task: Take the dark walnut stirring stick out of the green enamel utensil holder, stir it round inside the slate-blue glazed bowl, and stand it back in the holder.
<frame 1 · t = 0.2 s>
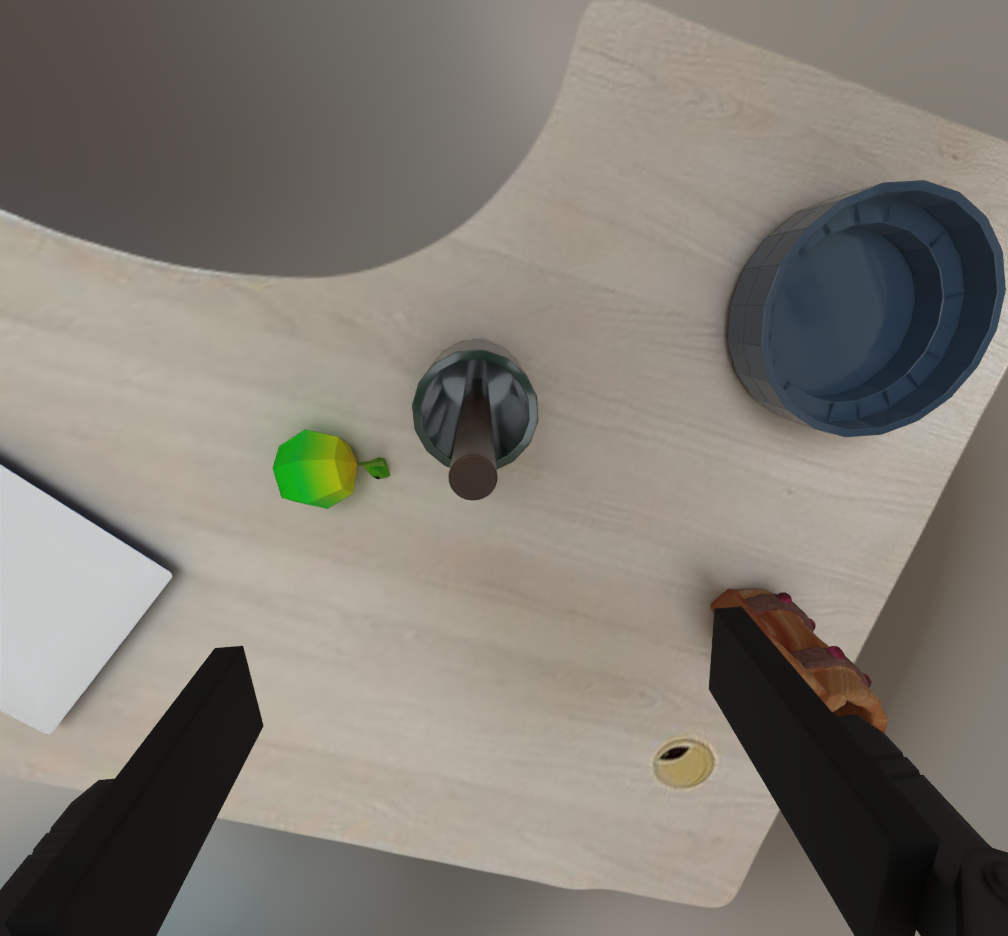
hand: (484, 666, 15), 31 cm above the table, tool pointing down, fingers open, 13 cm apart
mug: (731, 598, 50), on the table
stick: (476, 390, 42), point 1 cm above the table, touching holder
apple: (340, 456, 44), on the table
plate: (7, 577, 46), on the table
holder: (476, 388, 43), on the table
bowl: (828, 315, 42), on the table
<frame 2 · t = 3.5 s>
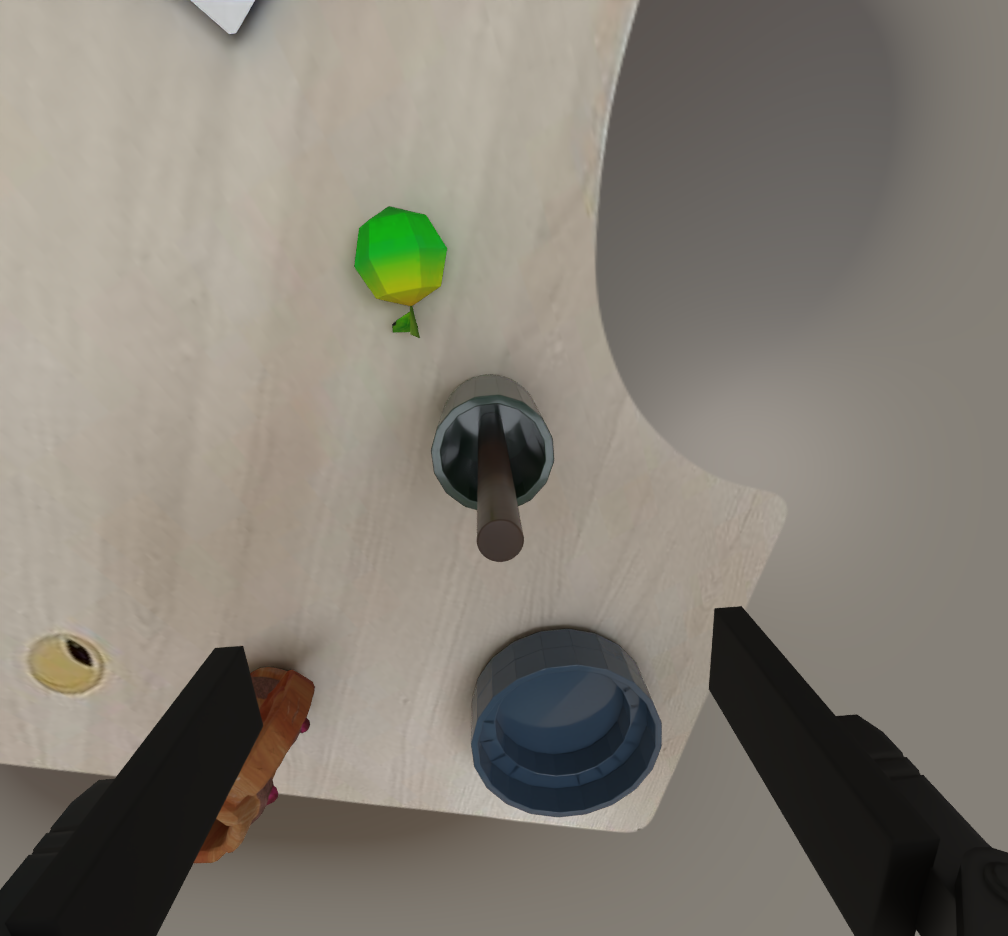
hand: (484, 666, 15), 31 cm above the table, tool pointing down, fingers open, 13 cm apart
mug: (288, 674, 51), on the table
stick: (490, 424, 43), point 1 cm above the table, touching holder
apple: (410, 276, 40), on the table
holder: (490, 422, 44), on the table
bowl: (557, 697, 53), on the table
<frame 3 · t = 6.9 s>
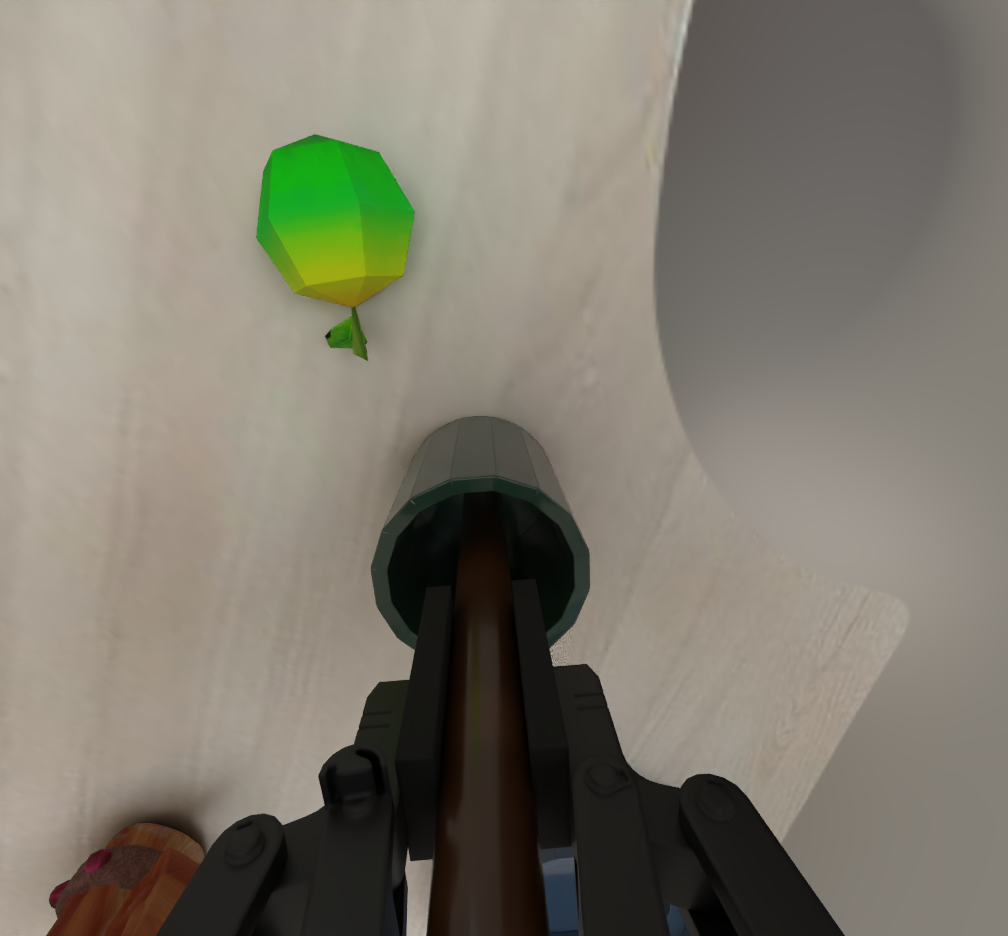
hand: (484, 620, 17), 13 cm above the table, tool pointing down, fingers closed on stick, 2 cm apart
mug: (184, 826, 35), on the table
stick: (482, 493, 28), point 1 cm above the table, touching gripper
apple: (358, 259, 25), on the table
holder: (481, 487, 29), on the table
bowl: (566, 858, 38), on the table
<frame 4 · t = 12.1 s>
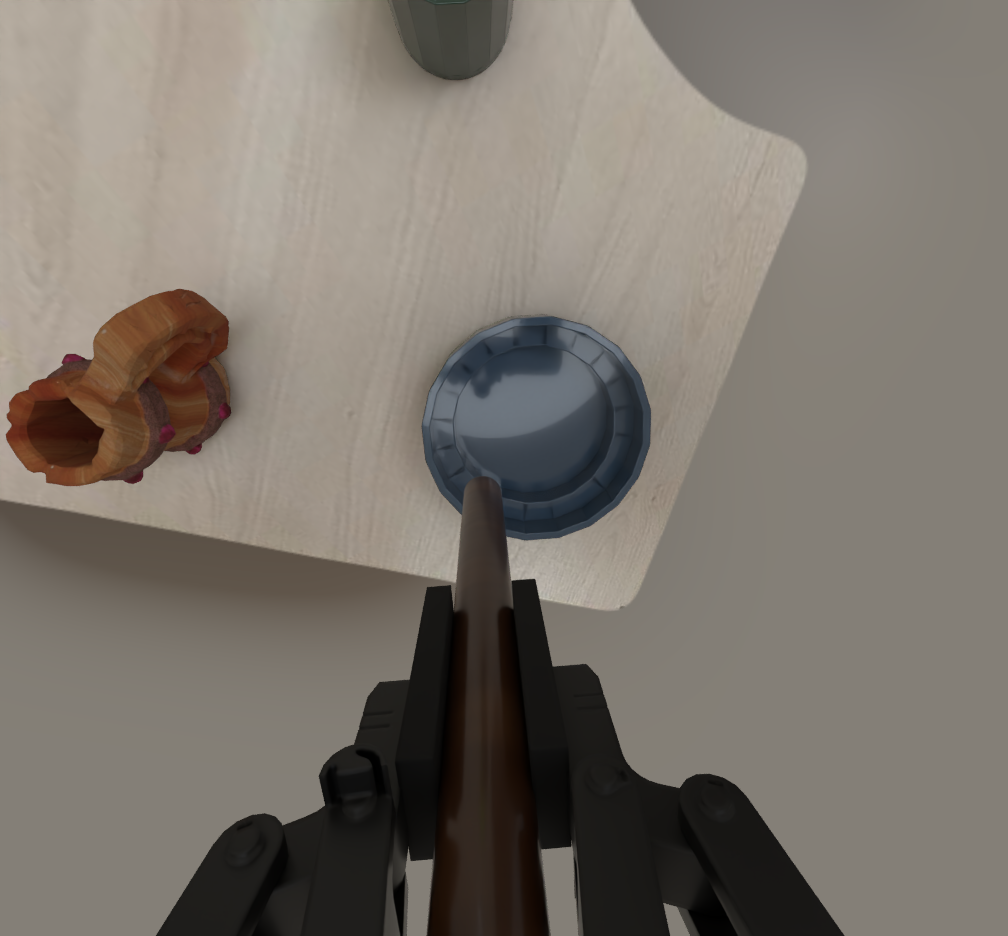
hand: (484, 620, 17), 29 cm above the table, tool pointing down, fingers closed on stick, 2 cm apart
mug: (211, 369, 43), on the table
stick: (482, 493, 28), point 18 cm above the table, touching gripper
holder: (452, 11, 36), on the table
bowl: (530, 418, 45), on the table
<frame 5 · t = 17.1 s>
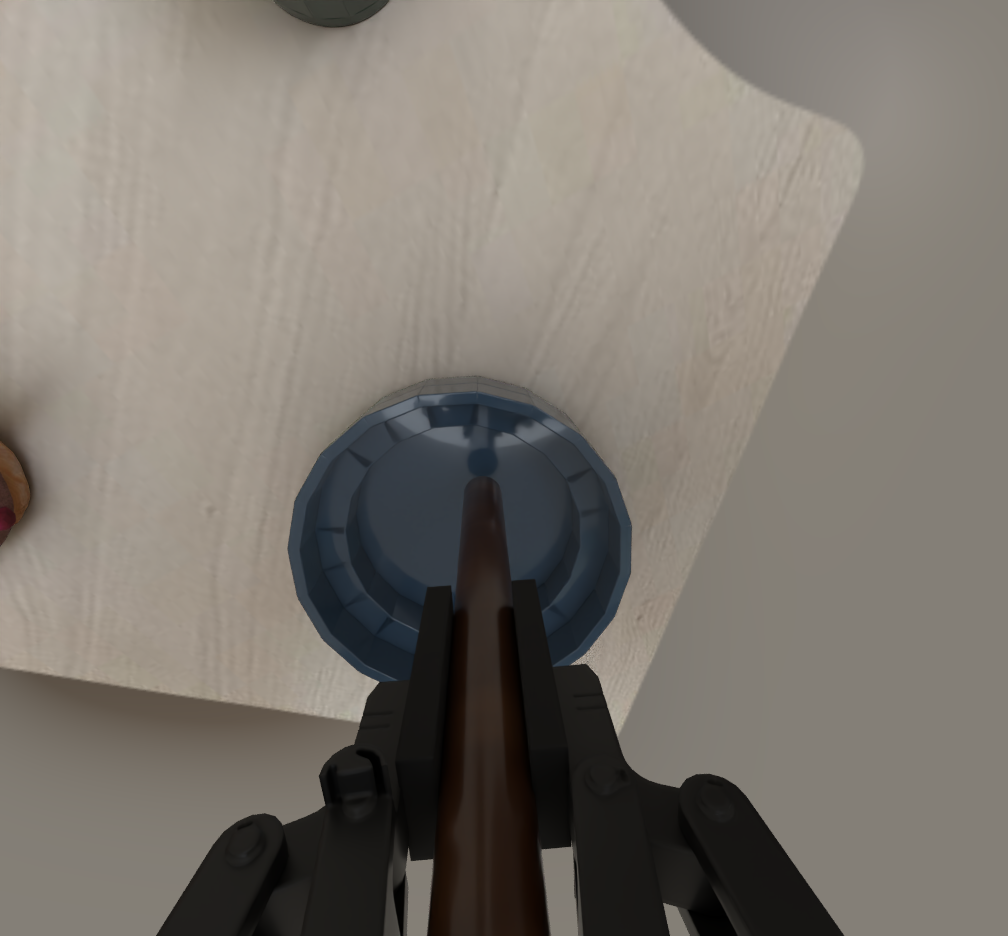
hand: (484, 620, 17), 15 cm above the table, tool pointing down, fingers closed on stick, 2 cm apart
mug: (4, 449, 30), on the table
stick: (482, 493, 28), point 4 cm above the table, touching gripper
bowl: (466, 515, 32), on the table
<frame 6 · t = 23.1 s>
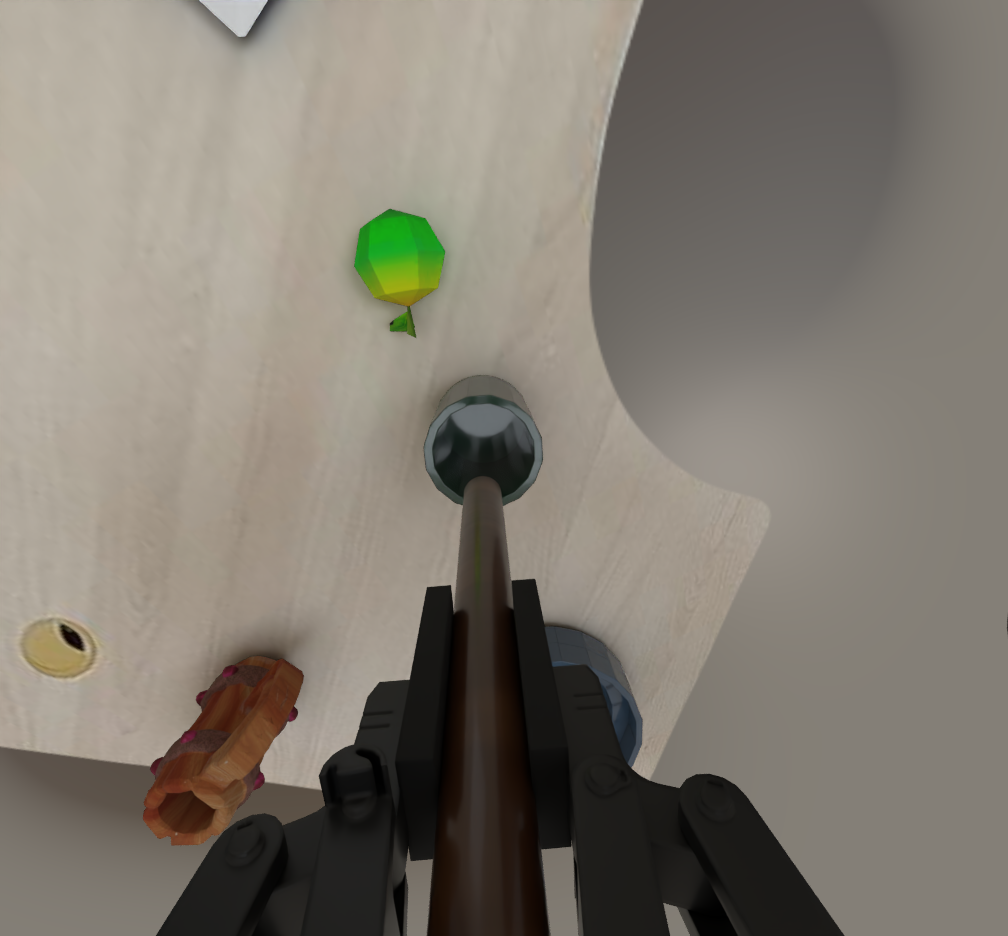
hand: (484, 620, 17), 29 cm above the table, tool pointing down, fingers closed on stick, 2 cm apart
mug: (278, 664, 51), on the table
stick: (482, 493, 28), point 18 cm above the table, touching gripper
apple: (408, 277, 41), on the table
holder: (483, 421, 45), on the table
bowl: (542, 693, 54), on the table
when the fingers open (13 cm above the table, at t = 27.8 s): stick stays where it is, resting on holder.
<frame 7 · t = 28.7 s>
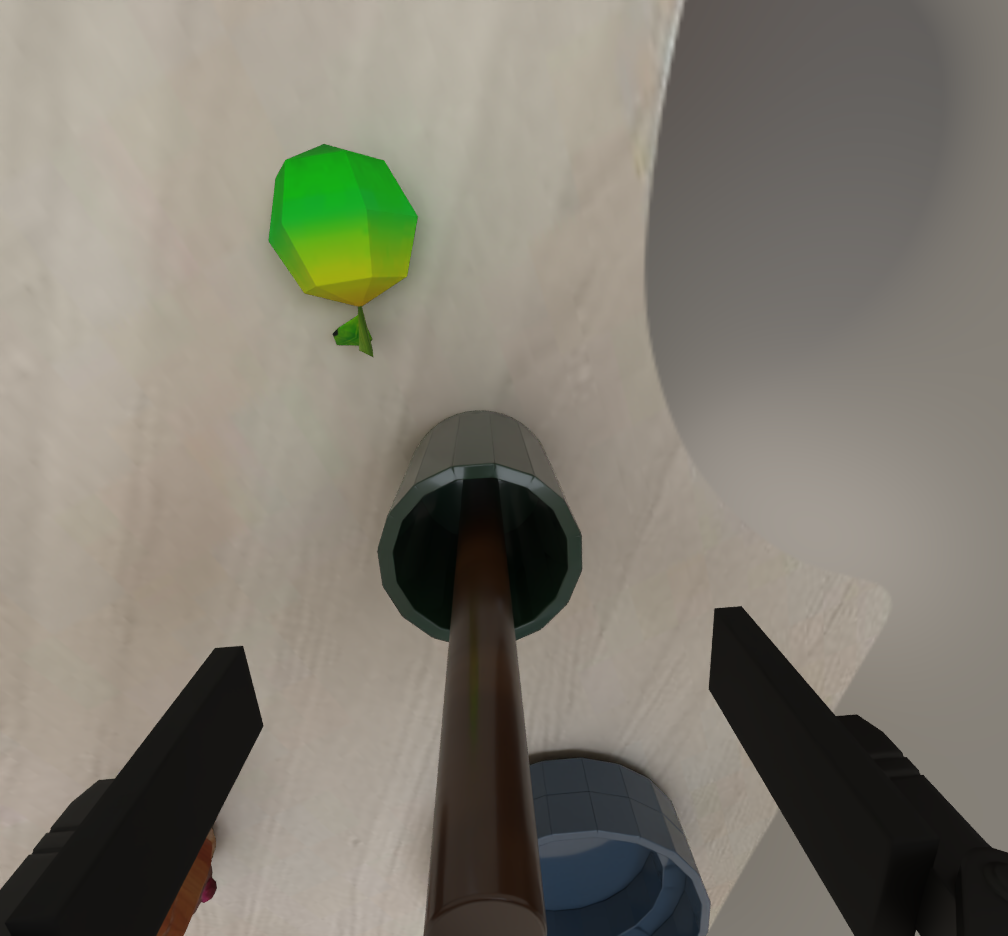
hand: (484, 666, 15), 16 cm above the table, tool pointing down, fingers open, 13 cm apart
mug: (194, 807, 37), on the table
stick: (480, 483, 29), point 1 cm above the table, touching holder
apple: (364, 261, 26), on the table
holder: (480, 478, 30), on the table
bowl: (562, 838, 39), on the table
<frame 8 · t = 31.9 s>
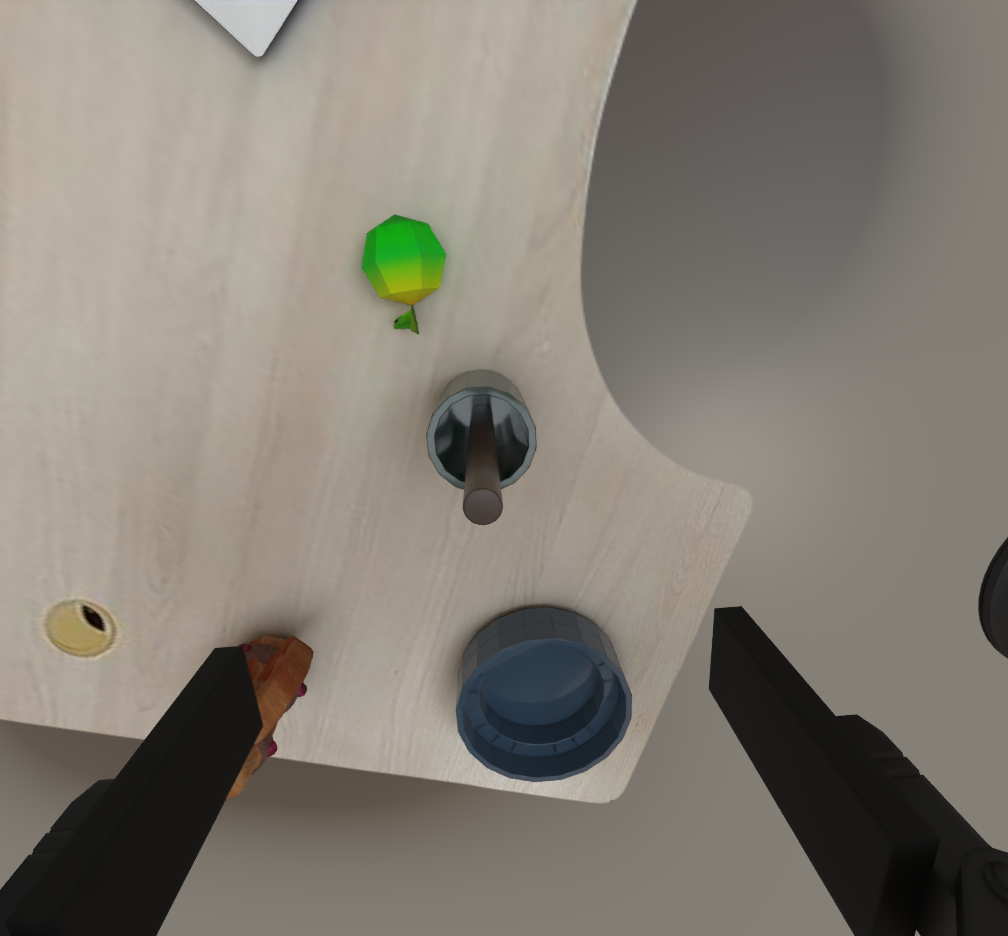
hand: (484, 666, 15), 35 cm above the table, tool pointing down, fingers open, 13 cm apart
mug: (288, 643, 54), on the table
stick: (481, 415, 47), point 1 cm above the table, touching holder
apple: (411, 278, 44), on the table
holder: (481, 413, 48), on the table
bowl: (538, 672, 57), on the table
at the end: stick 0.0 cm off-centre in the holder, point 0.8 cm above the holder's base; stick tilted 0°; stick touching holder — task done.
